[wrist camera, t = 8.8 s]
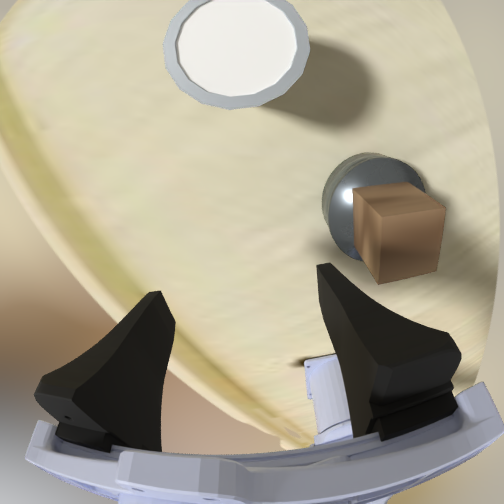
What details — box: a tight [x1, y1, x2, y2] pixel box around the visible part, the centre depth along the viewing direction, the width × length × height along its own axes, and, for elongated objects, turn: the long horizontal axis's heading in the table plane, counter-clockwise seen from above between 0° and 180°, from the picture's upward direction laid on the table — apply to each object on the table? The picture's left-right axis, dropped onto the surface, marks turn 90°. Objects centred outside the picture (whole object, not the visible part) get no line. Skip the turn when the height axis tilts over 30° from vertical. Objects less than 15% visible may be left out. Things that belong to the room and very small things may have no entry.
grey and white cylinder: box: [163, 0, 310, 110], centre depth 13 cm, size 7×7×7 cm
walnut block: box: [352, 182, 446, 285], centre depth 17 cm, size 4×4×5 cm
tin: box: [322, 153, 426, 261], centre depth 20 cm, size 8×8×3 cm
